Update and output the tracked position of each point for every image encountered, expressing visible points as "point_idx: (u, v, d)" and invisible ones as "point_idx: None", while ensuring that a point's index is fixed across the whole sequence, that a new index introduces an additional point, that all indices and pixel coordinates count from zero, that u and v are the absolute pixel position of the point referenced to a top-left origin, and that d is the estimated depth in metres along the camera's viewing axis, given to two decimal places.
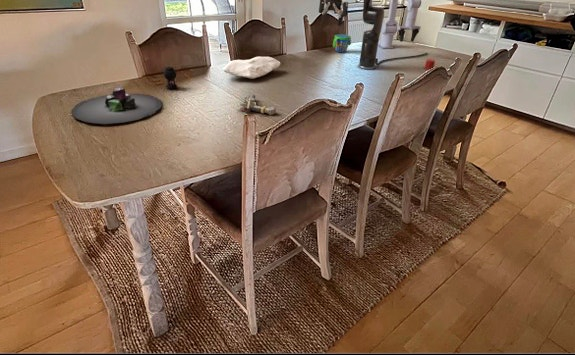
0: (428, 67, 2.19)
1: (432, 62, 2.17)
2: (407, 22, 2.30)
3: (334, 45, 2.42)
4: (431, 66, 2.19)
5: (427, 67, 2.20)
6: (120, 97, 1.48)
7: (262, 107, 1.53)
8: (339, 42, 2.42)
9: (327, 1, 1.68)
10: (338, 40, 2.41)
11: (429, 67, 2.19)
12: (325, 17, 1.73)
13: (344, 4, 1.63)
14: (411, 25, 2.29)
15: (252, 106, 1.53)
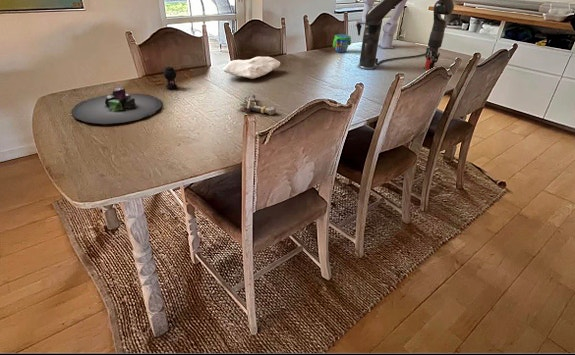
0: (428, 67, 2.19)
1: None
2: (363, 17, 2.49)
3: (334, 45, 2.42)
4: None
5: (427, 67, 2.20)
6: (120, 97, 1.48)
7: (262, 107, 1.53)
8: (339, 42, 2.42)
9: (429, 48, 2.18)
10: (338, 40, 2.41)
11: None
12: None
13: (435, 54, 2.11)
14: None
15: (252, 106, 1.53)
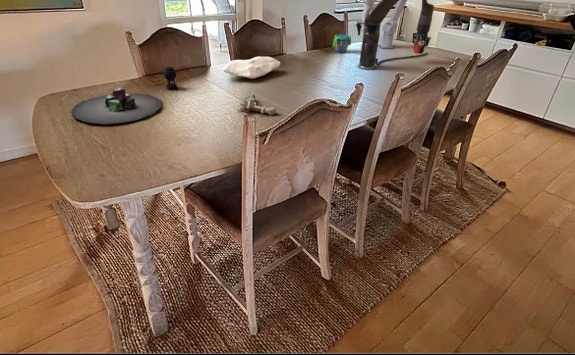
0: (418, 51, 2.27)
1: None
2: (363, 17, 2.49)
3: (334, 45, 2.42)
4: None
5: (417, 52, 2.27)
6: (120, 97, 1.48)
7: (262, 107, 1.53)
8: (339, 42, 2.42)
9: (417, 33, 2.25)
10: (338, 40, 2.41)
11: (419, 51, 2.27)
12: None
13: (426, 38, 2.19)
14: None
15: (252, 106, 1.53)
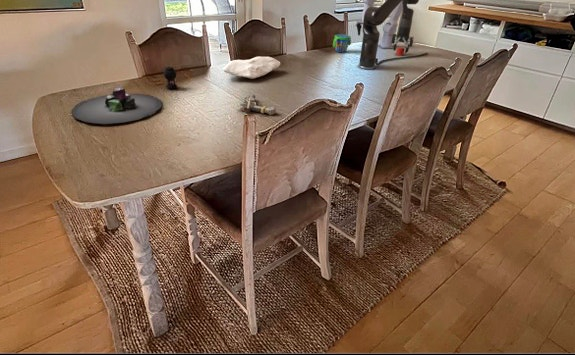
0: (401, 54, 2.45)
1: None
2: (363, 17, 2.49)
3: (334, 45, 2.42)
4: (403, 52, 2.45)
5: (400, 54, 2.45)
6: (120, 97, 1.48)
7: (262, 107, 1.53)
8: (339, 42, 2.42)
9: (398, 35, 2.42)
10: (338, 40, 2.41)
11: (402, 54, 2.45)
12: (395, 46, 2.47)
13: (411, 38, 2.37)
14: None
15: (252, 106, 1.53)
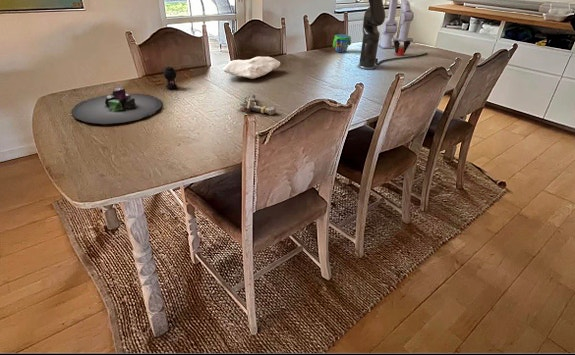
0: (401, 54, 2.45)
1: (404, 49, 2.44)
2: (400, 34, 2.39)
3: (334, 45, 2.42)
4: (403, 52, 2.45)
5: (401, 54, 2.45)
6: (120, 97, 1.48)
7: (262, 107, 1.53)
8: (339, 42, 2.42)
9: None
10: (338, 40, 2.41)
11: (402, 54, 2.45)
12: None
13: None
14: (404, 37, 2.39)
15: (252, 106, 1.53)
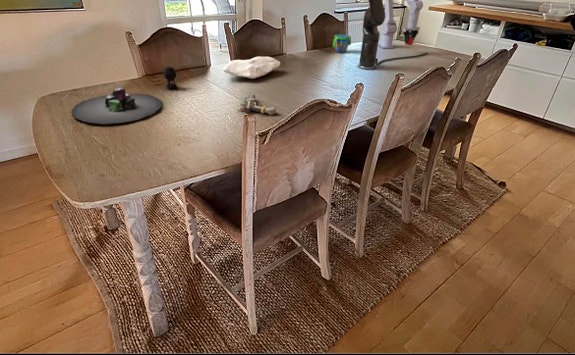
0: (411, 43, 2.47)
1: None
2: (411, 24, 2.40)
3: (334, 45, 2.42)
4: (412, 41, 2.47)
5: (411, 43, 2.46)
6: (120, 97, 1.48)
7: (262, 107, 1.53)
8: (339, 42, 2.42)
9: None
10: (338, 40, 2.41)
11: None
12: None
13: None
14: (414, 27, 2.40)
15: (252, 106, 1.53)
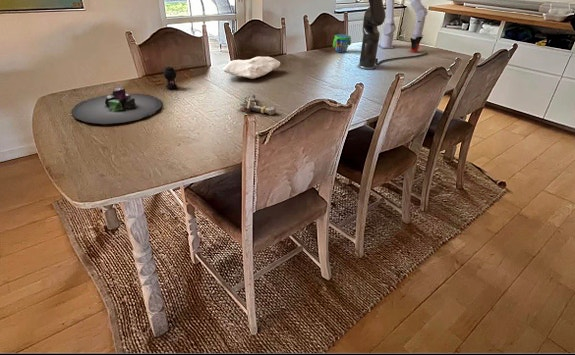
0: (417, 50, 2.55)
1: None
2: (418, 31, 2.47)
3: (334, 45, 2.42)
4: None
5: (417, 51, 2.55)
6: (120, 97, 1.48)
7: (262, 107, 1.53)
8: (339, 42, 2.42)
9: None
10: (338, 40, 2.41)
11: (417, 50, 2.56)
12: None
13: None
14: (421, 33, 2.48)
15: (252, 106, 1.53)
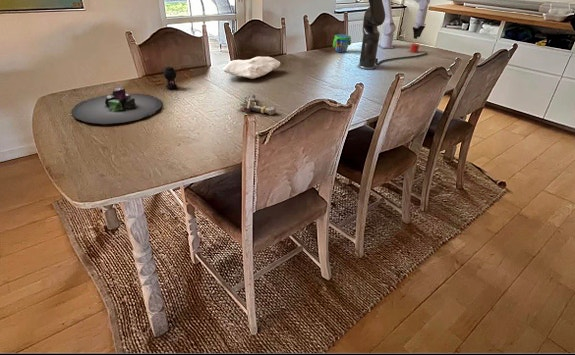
0: (417, 50, 2.55)
1: None
2: (421, 20, 2.43)
3: (334, 45, 2.42)
4: None
5: (417, 51, 2.55)
6: (120, 97, 1.48)
7: (262, 107, 1.53)
8: (339, 42, 2.42)
9: None
10: (338, 40, 2.41)
11: (417, 50, 2.56)
12: None
13: None
14: (424, 22, 2.45)
15: (252, 106, 1.53)
